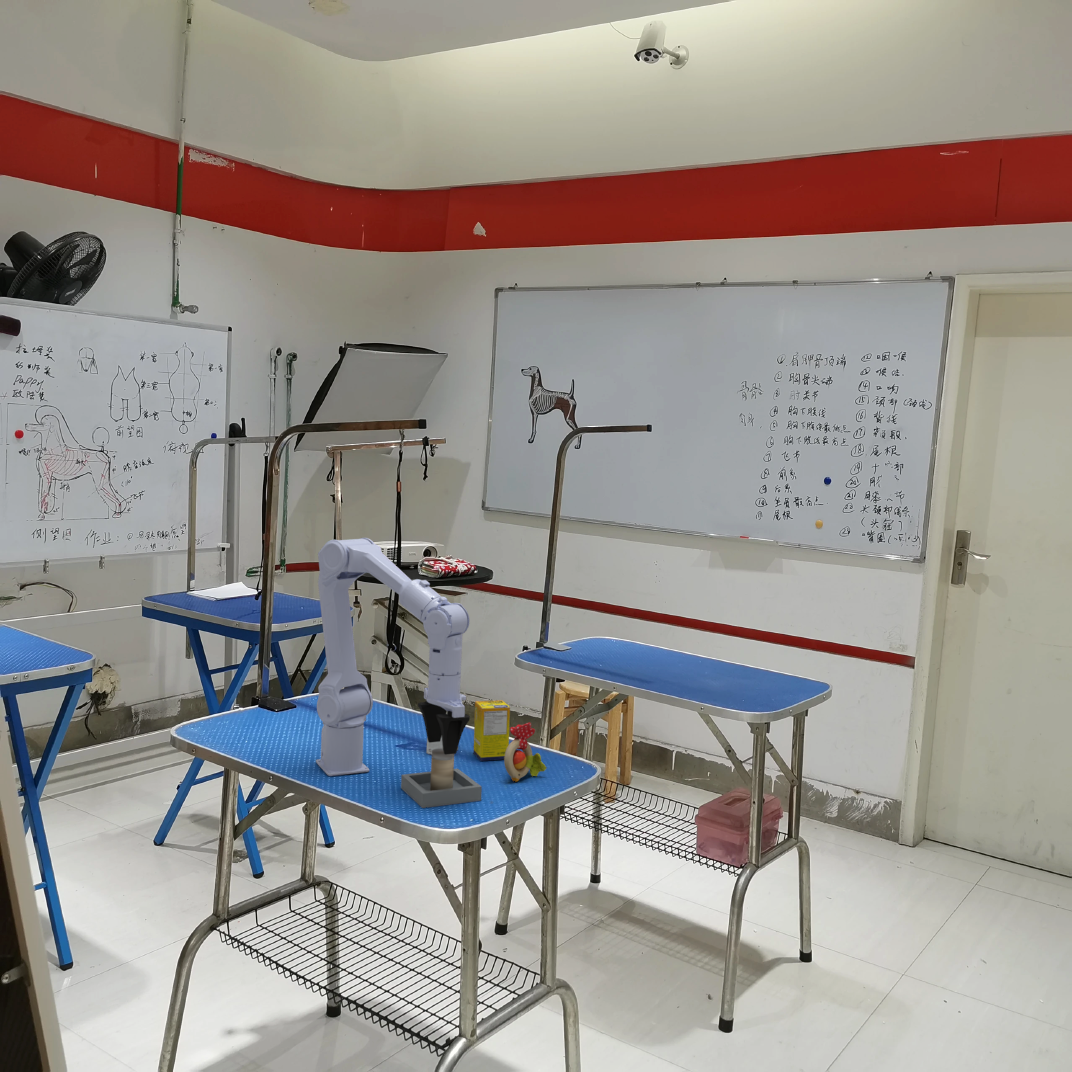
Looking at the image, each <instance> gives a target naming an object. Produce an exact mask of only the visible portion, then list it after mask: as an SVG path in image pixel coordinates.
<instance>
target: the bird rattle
mask: <svg viewBox="0 0 1072 1072" xmlns="http://www.w3.org/2000/svg"><path fill="white" fill-rule="evenodd" d="M535 732H536V729H535V728H532V723H531V722H530V721H529V722H526V723H524V724H517V725H516V726H511V727H509V733H510V734H511V735H512V736H514V738H513V740H512V741H511V742H509V746H508V747H507V749H506V752H505V757H504V759H503V760H504V761H503V762H504V763H503V764H504V768H505V771H506V772H507V774H508V776H509V777H510V778H511V780H512V782H514V781H515V782H514V783H516V782H518V781H520V780H521V778H523V777H525V776H526V775H527V774H528V773H530V775H531V777H533V776H536V777H537V776H538V775H539V773H540V772H545V771H546V770H547V768H548V767H547V766H546V764H544V762H543V761H542V755H541V754H540V753H538V752H536V753H535V754H534V755H533V750H532V747H531V745H530V743H529V742H528V739H529V738H531V737H532V736H534V734H535Z"/></svg>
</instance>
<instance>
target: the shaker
mask: <svg viewBox="0 0 1072 1072" xmlns="http://www.w3.org/2000/svg"><path fill="white" fill-rule="evenodd" d="M454 767H455V754H444V751H443V748H438V749H434V750H432V754H431V765H430V772H431V783H430V790H431V791H433V790H441V789H450V788H453V771H454V769H455V768H454Z"/></svg>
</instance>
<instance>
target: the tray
mask: <svg viewBox="0 0 1072 1072" xmlns="http://www.w3.org/2000/svg"><path fill="white" fill-rule="evenodd" d="M400 776H401V777H400V780H401V781H400V789H402V791H403V792H404V793H405V794H407V796H408V797H410V798H411V799H412V800H413V801H414V802H415V803H416V804H417V805H418V806H420V807H421V808H422V809H425V808H426V807H427V808H432V807H433V808H434V807H439V806H440V807H442V806H448V805H450V806H451V805H457V804H463V803H472V802H481V801H482V790H483V789H482V785H480V784H479V783H478V782H477V781H475V780H474V779H472V778H471V777H470V776H469V775H467V774H466V773H464V772H463V771H461V770H460V769H459V768H454V771H453V788H450V789H441V790H433V791H431V790H430V783H431V771H423V772H416V773H415V772H413V773H406V774H401V775H400Z"/></svg>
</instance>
